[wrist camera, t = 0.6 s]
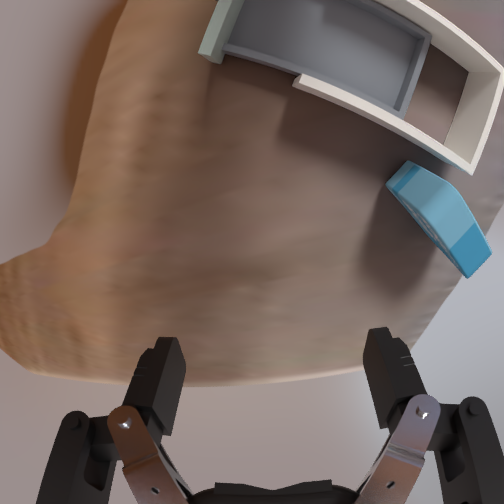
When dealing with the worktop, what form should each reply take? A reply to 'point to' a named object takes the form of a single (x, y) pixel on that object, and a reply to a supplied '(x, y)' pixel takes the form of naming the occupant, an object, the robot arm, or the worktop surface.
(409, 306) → the worktop surface
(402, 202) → the data package
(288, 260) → the worktop surface
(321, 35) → the drawer
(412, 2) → the cubby
